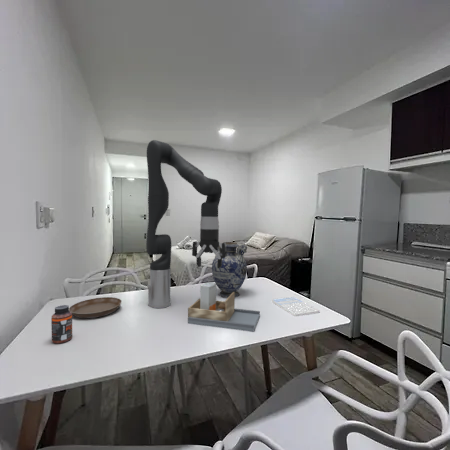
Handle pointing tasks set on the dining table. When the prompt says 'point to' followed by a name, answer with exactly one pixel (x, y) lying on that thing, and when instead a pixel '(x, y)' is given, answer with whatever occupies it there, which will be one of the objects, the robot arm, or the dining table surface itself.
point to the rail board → (232, 320)
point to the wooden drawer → (211, 314)
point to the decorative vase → (230, 269)
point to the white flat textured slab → (295, 306)
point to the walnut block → (222, 306)
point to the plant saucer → (95, 307)
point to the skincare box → (208, 296)
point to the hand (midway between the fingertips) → (209, 267)
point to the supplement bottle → (61, 324)
